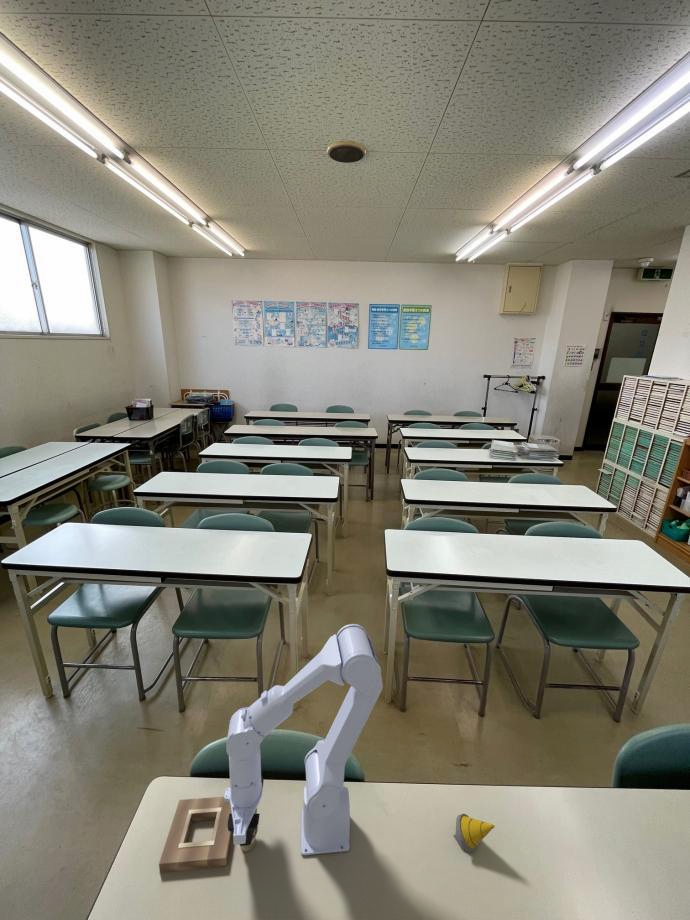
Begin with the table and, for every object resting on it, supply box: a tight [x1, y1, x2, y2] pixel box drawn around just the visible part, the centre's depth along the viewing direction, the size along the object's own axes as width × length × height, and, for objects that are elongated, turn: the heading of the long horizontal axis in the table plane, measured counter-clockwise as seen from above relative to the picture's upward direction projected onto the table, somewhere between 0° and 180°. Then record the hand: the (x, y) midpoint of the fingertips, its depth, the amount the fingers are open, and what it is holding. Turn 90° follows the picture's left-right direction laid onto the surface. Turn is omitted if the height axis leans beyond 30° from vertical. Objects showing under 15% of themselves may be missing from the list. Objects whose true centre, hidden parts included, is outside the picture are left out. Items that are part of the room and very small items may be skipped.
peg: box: [239, 807, 259, 853], centre depth 74 cm, size 4×4×8 cm
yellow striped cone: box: [453, 813, 496, 853], centre depth 74 cm, size 5×5×10 cm
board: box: [158, 796, 233, 873], centre depth 75 cm, size 12×11×2 cm
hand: (247, 829), depth 74 cm, fingers closed on peg, 4 cm apart
